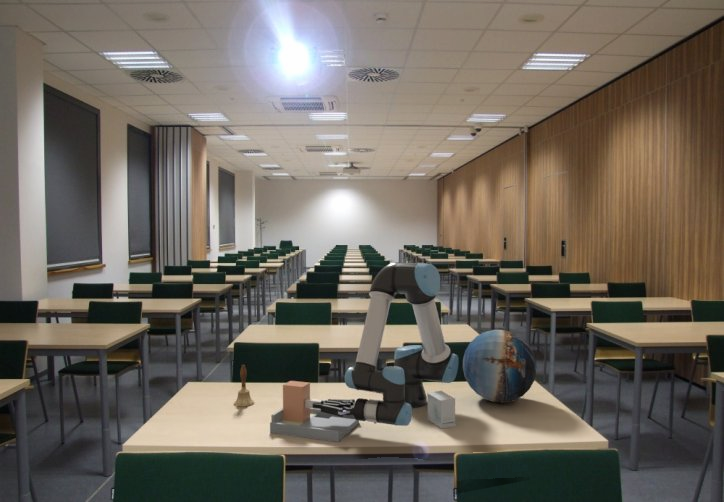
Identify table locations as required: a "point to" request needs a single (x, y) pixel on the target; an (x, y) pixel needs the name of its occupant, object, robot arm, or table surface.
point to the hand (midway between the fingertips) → (306, 403)
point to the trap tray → (314, 425)
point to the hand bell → (243, 391)
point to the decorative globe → (499, 366)
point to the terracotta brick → (296, 401)
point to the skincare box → (441, 409)
